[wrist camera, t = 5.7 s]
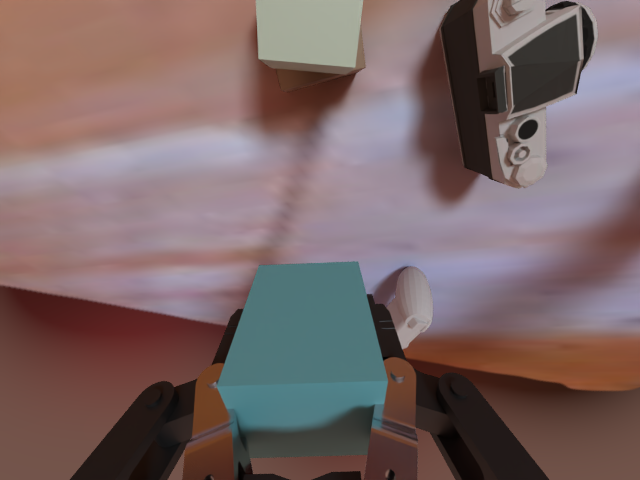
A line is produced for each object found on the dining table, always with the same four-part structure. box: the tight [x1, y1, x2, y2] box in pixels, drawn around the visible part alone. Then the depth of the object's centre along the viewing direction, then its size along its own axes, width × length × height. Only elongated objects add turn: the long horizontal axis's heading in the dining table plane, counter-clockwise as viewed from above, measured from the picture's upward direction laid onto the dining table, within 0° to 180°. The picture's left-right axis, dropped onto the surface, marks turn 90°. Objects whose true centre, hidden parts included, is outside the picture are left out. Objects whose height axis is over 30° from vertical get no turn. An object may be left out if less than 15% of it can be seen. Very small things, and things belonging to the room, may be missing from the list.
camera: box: [439, 0, 598, 189], centre depth 20 cm, size 16×9×10 cm, turn 25°
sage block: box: [256, 0, 363, 75], centre depth 16 cm, size 6×6×5 cm
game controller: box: [386, 266, 433, 350], centre depth 33 cm, size 14×4×10 cm, turn 153°
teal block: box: [217, 262, 388, 458], centre depth 11 cm, size 5×5×6 cm
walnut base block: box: [275, 23, 366, 92], centre depth 20 cm, size 7×7×5 cm
